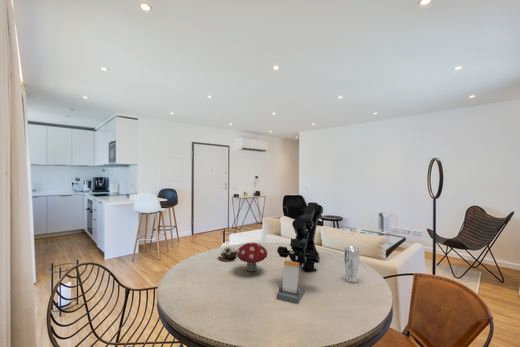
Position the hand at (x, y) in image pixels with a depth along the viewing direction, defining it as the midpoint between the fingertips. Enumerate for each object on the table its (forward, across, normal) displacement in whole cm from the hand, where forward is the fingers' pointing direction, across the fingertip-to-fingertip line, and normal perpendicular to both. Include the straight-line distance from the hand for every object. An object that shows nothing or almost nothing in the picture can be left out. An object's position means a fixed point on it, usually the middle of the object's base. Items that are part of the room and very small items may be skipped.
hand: (294, 272), depth 105 cm
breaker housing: (+9, 0, +3) cm, 9 cm away
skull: (-9, -47, +21) cm, 53 cm away
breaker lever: (+8, 0, -1) cm, 8 cm away
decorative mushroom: (-1, -26, +13) cm, 29 cm away
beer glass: (-10, +22, +22) cm, 33 cm away
